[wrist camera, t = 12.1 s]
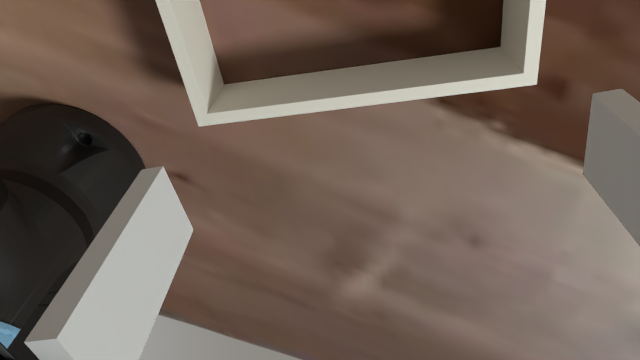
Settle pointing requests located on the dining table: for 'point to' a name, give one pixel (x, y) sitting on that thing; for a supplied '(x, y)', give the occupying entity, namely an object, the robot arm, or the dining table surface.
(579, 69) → the dining table surface
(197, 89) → the white rectangular frame
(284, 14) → the dining table surface
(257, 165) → the dining table surface
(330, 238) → the dining table surface
